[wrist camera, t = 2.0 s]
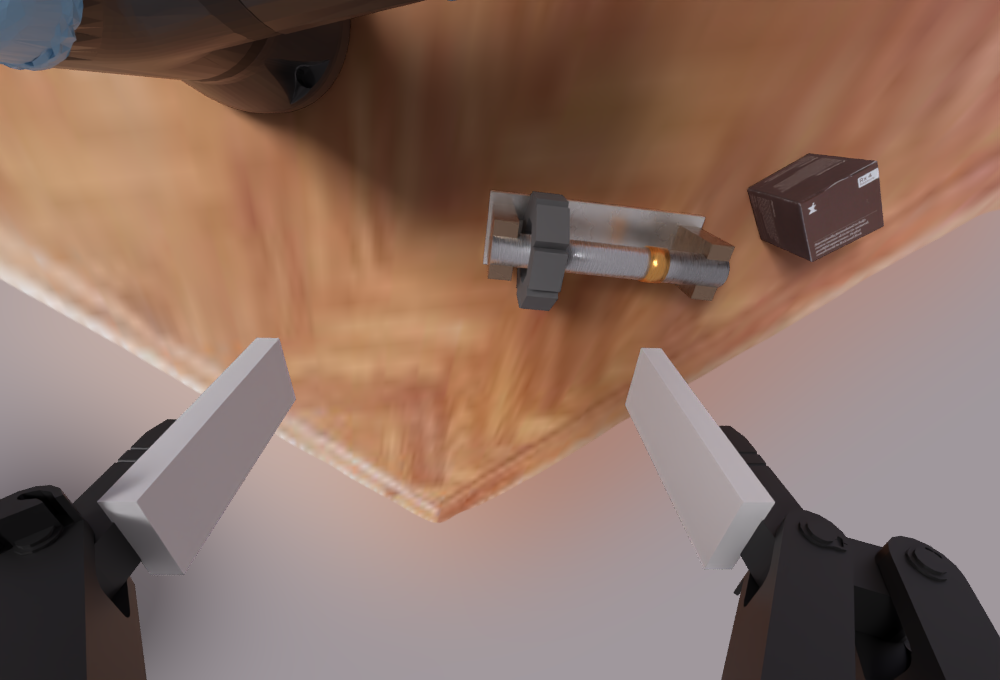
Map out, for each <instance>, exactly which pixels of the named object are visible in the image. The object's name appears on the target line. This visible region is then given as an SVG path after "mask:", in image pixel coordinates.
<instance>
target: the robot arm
mask: <svg viewBox="0 0 1000 680" xmlns="http://www.w3.org/2000/svg"><path fill="white" fill-rule="evenodd" d="M420 1H425V0H0V64H4V65H6V66H8V67H10V68H13V69H18V70H22V69H28V70H33V71H38V70H39V71H40V70H46V69H50V68H60V69H70V70H81V71H92V72H102V73H113V74H124V75H134V76H145V77H155V78H166V79H177V80H182V81H183V82H185V83H186V84H188V85H189V86H191V87H193V88H194V89H196V90H197V91H199V92H200V93H202V94H204V95H205V96H207V97H209V98H211V99H213V100H215V101H217V102H219V103H221V104H224V105H226V106H229V107H232V108H235V109H239V110H243V111H247V112H253V113H285V112H291V111H295V110H298V109H301V108H304V107H306V106H308V105H310V104H311V103H313V102H315V101H316V100H317V99H319V98H320V97H321V96H322V95H323V94H324V93H325V92H326V91H327V90H328V89H329V88H330V87H331V85H332V84H333V83H334V81H335V79H336V78H337V76H338V74H339V72H340V70H341V68H342V65H343V63H344V60H345V57H346V53H347V49H348V43H349V36H350V18H355V17H359V16H363V15H367V14H371V13H375V12H379V11H383V10H387V9H392V8H396V7H400V6H404V5H408V4H412V3H416V2H420ZM448 1H455V0H448ZM295 400H296V398H295V394H294V390H293V387H292V383H291V379H290V376H289V372H288V368H287V365H286V361H285V358H284V354H283V350H282V347H281V343H280V339H279V338H256V339H255V340H254V341H253V342H252V343H251V344H250V345H249V346H248V347H247V348H246V349H245V350H244V351H243V352H242V353H241V355H240V356H239V357H238V358H237V359H236V360H235V361H234V362H233V363H232V364H231V365H230V366H229V367H228V368H227V369H226V370H225V371H224V372H223V373H222V374H221V375H220V376H219V377H218V378H217V379H216V380H215V381H214V382H213V383H212V384H211V385H210V386H209V387H208V388H207V389H206V390H205V391H204V392H203V393H202V394H201V396H200V397H199V398H198V399H197V400H196V401H195V402H194V403H193V404H192V405H191V406H190V407H189V408H188V409H187V410H186V411H185V412H184V413H183V414H182V415H181V416H180V417H179V418H178V419H177V420H176V419H175V420H173V419H167V420H165V421H164V422H163V423H161V424H159V425H157V426H156V427H154V428H152V429H151V430H149V431H147V432H146V433H145V434H144V435H143V436H142V437H141V438H140V439H139V440H138V441H137V442H136V443H135V444H134V445H133V446H132V447H131V450H127V451H126V453H124V454H123V455H122V456H121V457H120V458H119V459H118V462H117V463H114V464H113V465H112V466H111V467H110V468H109V469H108V470H107V471H106V472H105V473H104V474H103V475H102V476H101V477H100V478H99V479H98V480H97V481H96V482H94V484H93V485H91V486H90V487H89V488H88V489H87V490H86V491H85V492H84V493H83V494H82V495H81V496H80V497H79V498H78V499H77V500H76V501H75V502H74V503H73V504H72V503H71V502H70V500H69V499H68V498H67V496H66V495H65V494H64V492H63V491H62V490H61V489H60V488H58V487H55V486H52V485H47V486H36V487H32V488H29V489H25V490H22V491H18V492H16V493H14V494H12V495H9V496H7V497H5V498H3V499H0V680H147V679H146V672H145V663H144V655H143V647H142V640H141V631H140V623H139V615H138V607H137V599H136V591H135V584H134V582H133V581H132V579H131V577H130V575H131V574H132V572H133V571H134V570H135V568H136V567H137V566H138V564H139V563H140V562H142V564H143V565H144V566H145V568H146V569H147V570H148V572H149V573H150V574H151V575H184V574H185V573H186V571H187V569H188V568H189V566H190V565H191V563H192V562H193V560H194V558H195V557H196V555H197V554H198V552H199V550H200V549H201V547H202V546H203V544H204V543H205V541H206V539H207V538H208V536H209V535H210V533H211V532H212V530H213V529H214V527H215V525H216V524H217V522H218V521H219V519H220V518H221V516H222V514H223V513H224V511H225V510H226V508H227V507H228V505H229V503H230V502H231V500H232V499H233V497H234V495H235V494H236V492H237V491H238V489H239V488H240V486H241V485H242V483H243V481H244V480H245V478H246V477H247V475H248V473H249V472H250V470H251V469H252V467H253V466H254V464H255V463H256V461H257V459H258V458H259V456H260V455H261V453H262V452H263V450H264V449H265V447H266V445H267V444H268V442H269V441H270V439H271V437H272V436H273V434H274V433H275V431H276V430H277V428H278V427H279V425H280V423H281V422H282V420H283V419H284V417H285V416H286V414H287V412H288V411H289V409H290V408H291V406H292V405H293V403H294V401H295ZM625 406H626V408H627V410H628V412H629V414H630V416H631V418H632V420H633V422H634V424H635V426H636V429H637V431H638V433H639V435H640V437H641V439H642V441H643V443H644V445H645V447H646V449H647V451H648V454H649V456H650V457H651V460H652V462H653V464H654V466H655V468H656V470H657V472H658V474H659V476H660V478H661V480H662V483H663V485H664V487H665V489H666V491H667V493H668V495H669V497H670V499H671V501H672V504H673V506H674V508H675V509H676V512H677V513H678V516H679V518H680V520H681V522H682V524H683V526H684V529H685V531H686V533H687V535H688V537H689V538H690V541H691V543H692V545H693V547H694V549H695V551H696V553H697V555H698V558H699V560H700V562H701V564H702V566H703V568H704V569H732V568H733V567H734V565H735V564H736V562H737V561H738V559H739V558H740V556H741V557H742V559H743V560H744V562H745V564H746V566H747V568H748V569H749V570H748V572H747V573H746V575H745V576H744V578H743V579H742V580H741V582H740V584H739V585H738V586H737V588H736V589H735V591H734V594H736V595H739V594H740V592H741V595H740V598H739V603H738V607H737V612H736V616H735V621H734V625H733V630H732V634H731V639H730V643H729V648H728V652H727V657H726V661H725V665H724V670H723V675H722V680H1000V637H999V635H998V633H997V632H996V630H995V628H994V626H993V625H992V623H991V621H990V619H989V618H988V616H987V614H986V612H985V611H984V609H983V607H982V606H981V604H980V602H979V600H978V599H977V597H976V595H975V593H974V592H973V590H972V588H971V587H970V585H969V583H968V581H967V580H966V578H965V577H964V575H963V574H962V573H961V571H960V570H959V569H958V568H957V567H956V565H954V564H953V563H952V562H951V561H950V560H949V559H947V558H946V557H945V556H944V555H943V554H941V553H940V552H938V551H937V550H935V549H933V548H932V547H930V546H929V545H927V544H925V543H922V542H920V541H918V540H915V539H913V538H908V537H903V536H898V537H892V538H891V539H890V540H889V541H888V542H887V543H886V544H885V545H884V546H883V547H880V546H876V545H872V544H868V543H865V542H862V541H858V540H854V539H851V538H847V537H846V536H845V535H844V534H843V532H842V531H841V530H839V529H838V528H837V527H836V526H835V525H834V524H833V523H832V522H830V521H828V520H827V519H825V518H823V517H821V516H820V515H818V514H815V513H812V512H809V511H805V510H803V509H802V508H801V507H800V505H799V504H798V503H797V502H796V500H795V499H794V498H793V496H792V495H791V494H790V493H789V492H788V490H787V489H786V488H785V486H784V485H783V484H782V483H781V481H780V480H779V479H778V478H777V476H776V475H775V474H774V473H773V471H772V470H771V469H770V468H769V467H768V466H766V463H765V461H764V460H763V459H762V458H761V456H760V455H757V451H756V450H755V449H754V448H753V446H752V445H751V444H750V443H749V441H748V440H747V439H746V438H745V437H744V436H743V435H741V434H740V433H739V432H737V431H736V430H735V429H733V428H732V427H731V426H718V425H717V423H716V422H715V421H714V419H713V418H712V416H711V415H710V414H709V412H708V411H707V410H706V408H705V407H704V406H703V404H702V403H701V402H700V400H699V399H698V398H697V396H696V395H695V393H694V392H693V391H692V389H691V388H690V387H689V385H688V384H687V383H686V381H685V380H684V379H683V377H682V376H681V375H680V373H679V372H678V371H677V369H676V368H675V367H674V365H673V364H672V362H671V361H670V360H669V358H668V357H667V356H666V354H665V353H664V352H663V350H662V349H661V348H641V350H640V354H639V357H638V361H637V365H636V368H635V372H634V375H633V379H632V382H631V386H630V389H629V393H628V396H627V400H626V403H625Z"/></svg>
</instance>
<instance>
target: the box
mask: <svg viewBox="0 0 1000 680" xmlns="http://www.w3.org/2000/svg"><path fill="white" fill-rule="evenodd" d="M748 193H749V197H750V201H751V204H752V208H753V211H754V215H755V219H756V222H757V226H758V230H759V233H760V237H761V239H762V240H764V241H767V242H769V243H771V244H773V245H775V246H777V247H780V248H782V249H784V250H787V251H789V252H791V253H793V254H795V255H798V256H800V257H803V258H805V259H807V260H809V261H811V262H813V261H815V260H817V259H819V258H821V257H823V256H825V255H827V254H829V253H831V252H833V251H835V250H837V249H839V248H841V247H843V246H845V245H847V244H849V243H851V242H853V241H855V240H857V239H859V238H861V237H863V236H865V235H867V234H869V233H871V232H873V231H875V230H877V229H879V228H881V227H883V226H884V223H883V213H882V203H881V193H880V181H879V171H878V164H877V161H874V160H863V159H853V158H845V157H836V156H827V155H818V154H810V153H809V154H807V155H805V156H804V157H802V158H800V159H798V160H797V161H795V162H793V163H791V164H790V165H788V166H786V167H784V168H783V169H781V170H779V171H777V172H776V173H774V174H772V175H770V176H768V177H767V178H765V179H763V180H761V181H760V182H758V183H756V184H754V185H753V186H751V187H749V188H748Z"/></svg>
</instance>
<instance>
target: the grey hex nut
mask: <svg viewBox="0 0 1000 680" xmlns="http://www.w3.org/2000/svg"><path fill="white" fill-rule="evenodd" d="M568 205H569V202H568V201H567V199H566V198H565V197H564V196H563V195H559V194H551V193H543V192H535V191H532V193H531V195H530V198H529V201H528V204H527V208H526V211H525V219H524V220H523V226H522V233H521V234H530V235H531V251H530V257H529V263H528V268H520V267H517V287H516V288H517V299H518V304H519V308H523V309H534V310H545V311H549V310H550V309H551V307H552V306H553V305H554V303H555V302H556V301H557V299H558V292H560V291H561V286H562V282H563V277H564V272H565V268H566V263H567V258H568V253H567V252H566V249H567V248H568V246H569V244H570V208H568Z"/></svg>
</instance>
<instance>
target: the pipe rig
mask: <svg viewBox="0 0 1000 680" xmlns="http://www.w3.org/2000/svg"><path fill="white" fill-rule="evenodd" d="M529 198H530V194H521V193H513V192H505V191H497V190H491V191H490V200H489V210H488V220H487V230H486V239H485V249H484V259H483V264H488V279H498V280H508V281H511V278H512V271H513V267H520V268H528V263H529V257H530V251H531V235H530V234H521V233H522V226H523V220H524V219H525V211H526V208H527V204H528V201H529ZM567 201H568V202H569V205H568V208H570V244H569V246H568V248H567V249H566V252H567V253H568V258H567V263H566V268H565V272H567V273H577V274H587V275H596V276H606V277H616V278H626V279H635V280H638V281H640V282H648V283H661V282H664V283H674V284H675V285H676V286H677V287H679V288H680V289H681V290H682V291H683V292H684V293H685V294H686V295H687V296H688V297H690V298H691V299H699V300H709V301H712V299H713V297H714V294H715V292H716V290H717V288H718V287H720V286H722V285H723V284H724V282H725V281H726V279H727V277H728V274H729V268H730V266H729V260H730V257H731V255H732V253H733V250H734V248H735V247H734V246H732V245H731V244H729V243H727V242H725V241H723V240H721V239H720V238H718V237H716V236H714V235H712V234H710V233H708V232H707V231H705V230H703V229H701V228H702V225H703V223H704V220H705V217H704V216H702V215H695V214H686V213H678V212H670V211H662V210H653V209H645V208H637V207H629V206H620V205H612V204H604V203H596V202H587V201H579V200H571V199H567Z"/></svg>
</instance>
